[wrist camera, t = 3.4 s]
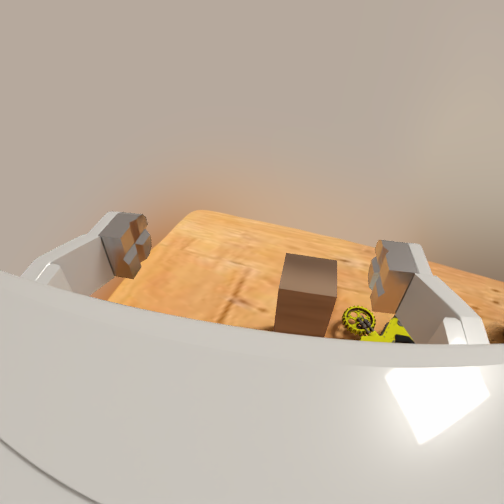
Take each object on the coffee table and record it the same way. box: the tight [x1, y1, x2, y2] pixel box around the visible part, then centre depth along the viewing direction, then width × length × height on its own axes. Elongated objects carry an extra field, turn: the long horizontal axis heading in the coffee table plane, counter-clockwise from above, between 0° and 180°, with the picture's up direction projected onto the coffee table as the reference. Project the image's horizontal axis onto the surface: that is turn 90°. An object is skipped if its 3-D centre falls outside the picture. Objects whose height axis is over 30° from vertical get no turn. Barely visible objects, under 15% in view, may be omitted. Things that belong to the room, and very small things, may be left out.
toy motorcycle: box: [342, 306, 415, 344], centre depth 29 cm, size 12×4×7 cm
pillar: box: [274, 253, 337, 338], centre depth 27 cm, size 4×4×10 cm
